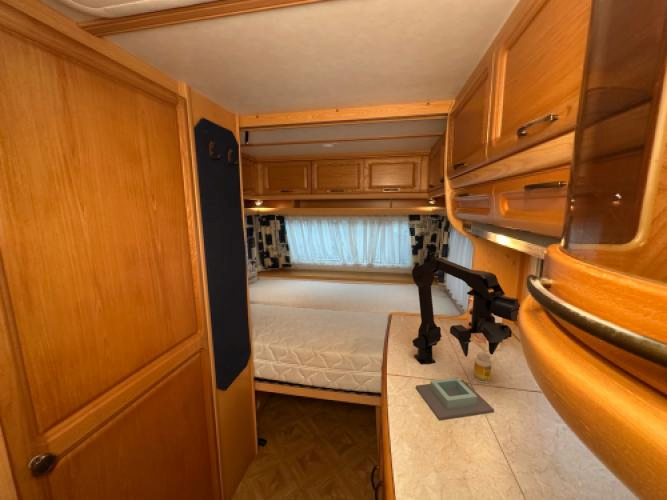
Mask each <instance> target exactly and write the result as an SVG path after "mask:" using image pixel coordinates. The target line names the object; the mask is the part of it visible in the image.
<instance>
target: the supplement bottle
mask: <svg viewBox="0 0 667 500" xmlns="http://www.w3.org/2000/svg"><path fill="white" fill-rule="evenodd" d="M490 359H491V354H490V353H487V352H486V351H478V352H477V353H476V357H475V358H474V367H473V378H474V379H475V381H477V382H479V383H482V384H488V383H490V382H491V374H492V361H491V360H490Z"/></svg>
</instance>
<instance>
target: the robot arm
mask: <svg viewBox="0 0 667 500" xmlns="http://www.w3.org/2000/svg"><path fill="white" fill-rule="evenodd" d="M439 271H440V272H443V273H445V274H447V275H450V276H452V277H454V278H457V279H459V280H461V281H462V282H464V283H465V284H466V285H467V287H469V288H471V290H469V291H467V293H466V294H467V295H468V296H472V298H473V308H472V311H470V314H471V315H472V321H471V322H469V326H471V328H468V329H467V327H465V326H463V325H462V324H454V325H450V327H449V334H451V335H452V336H453V337H454V338H455V339H456V340H457V341H458V343H459V345H460V347H461V350H462V353H463V355H464V356H465V358H466V357H467V358H468V354H469V345H470V343H471V342H472V340H471V339H470V338H471V334H483V335H484V336H485V338H486V339H487V341H488V342H489V351H488V352H489V353H488V354H489V355H490V356H491V355H494V353H495V352H496V351H495V350H496V348H497V346H498V344H499V343H500V344H501V343H503V341H505V340H508V339H509V338H512V337H513V331H512V329H511V328H510V326H509V325H508V324H504V323H503V322H502V323H495V317H494V316H493V315H495V316H498V317H501V318H502V319H504V320H508V321H510V322H514V323H515V322H517V321H518V320H517V315H518V310H519V307H520V306H521V304H520V303H519V298H516V297H509V296H507V295H506V293H505V291H504V290H503V288H502V286H501V285H500V283H499V280H498V277H497V274H495V273H493V272H491V271H485V270H480V269H479V270H478V269H472V268H468V267H466V266H463V265H460V264H458V263H455V262H453V261H450V260H448V259H445V258H444V257H434V258H431V260H429V261H427V262H424V263H423V264H420V265H415V266H414V267H412V270H411V275H412V280H413V283H414V284H415V285H416V288H418V289H417V290H418V300H419V311H420V313H419V314H420V320H421V321H420V325H419V327H418V332H417V337H415V338H414V339H413V340H412V345H413V346H414V347H416V348H417V352H416V353H417V354H414V355H413V356H414V358H415V360H417V362H418V363H419V364H420V365H427V364H436V360H435V359H434V358H433V347H435V346H437V344H438V343H439V342H441V338H442V337H443V335H442V333H441V329H442V328H441V327H440V326H438V325H437V324H436V322H435V317H434V316H435V315H434V305H433V295H432V285H433V283H434V280H435V274H437V272H439ZM505 295H506V296H505ZM492 313H493V315H492Z"/></svg>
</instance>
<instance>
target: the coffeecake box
mask: <svg viewBox="0 0 667 500" xmlns="http://www.w3.org/2000/svg"><path fill="white" fill-rule="evenodd" d="M472 308H473V297H469V298H468V309H467V324H466V326H467V327H466V328H467V329H468V328H471V326H469V322H471V321H472V315H471V314H470V311H472ZM492 315H493V313H492ZM493 316H494V317H495V323H502V324H503V318H501V317H498V316H495V315H493ZM469 340H471V342H473V343H474V344H475V345H477V346H478V347H480V349H482V350H483V352H485V353H487V352H489V342H488V341H487V339H486V338H485V336H484V335H483V334H471V338H470V339H469ZM500 351H501V342H500V343H499V344H498V346H497V348H496V350H495V351H494V352H500Z"/></svg>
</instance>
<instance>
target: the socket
mask: <svg viewBox="0 0 667 500" xmlns="http://www.w3.org/2000/svg"><path fill="white" fill-rule="evenodd" d="M415 389H416V391H417V393H419V394H420V395H419V396H421V398H422V399H423V400H424V401H425V403H426V405H427V406H428V407H429V408H430V410H431V411H432V413H433V414H434V415H435V416H436V418H437V419H438V420H439V421H444V420H445V421H446V420H452V419H457V418H465V417H472V416H479V415H484V414H493V413H495V409H494V408H493V407H492V406H491V405H490V404H489V403H488V402H487V401H486V400H485V399H484V398H483V397H482V396H481V395H480V394H479V393H477V391H476V390H475V389H473V388H472V387H471V386H470V385H469V384H468V383H467V382H466V381H465V380H464V379H460V378H459V377H450V378H441V379H433V380H430V383H427V384H418V385H415Z"/></svg>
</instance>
